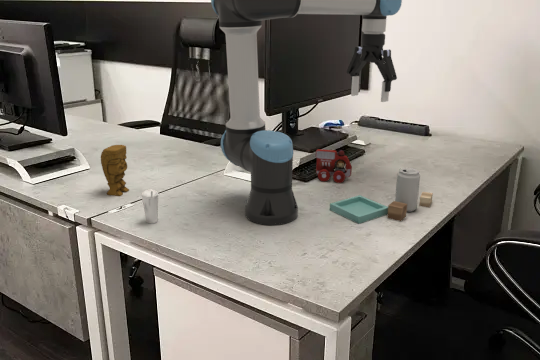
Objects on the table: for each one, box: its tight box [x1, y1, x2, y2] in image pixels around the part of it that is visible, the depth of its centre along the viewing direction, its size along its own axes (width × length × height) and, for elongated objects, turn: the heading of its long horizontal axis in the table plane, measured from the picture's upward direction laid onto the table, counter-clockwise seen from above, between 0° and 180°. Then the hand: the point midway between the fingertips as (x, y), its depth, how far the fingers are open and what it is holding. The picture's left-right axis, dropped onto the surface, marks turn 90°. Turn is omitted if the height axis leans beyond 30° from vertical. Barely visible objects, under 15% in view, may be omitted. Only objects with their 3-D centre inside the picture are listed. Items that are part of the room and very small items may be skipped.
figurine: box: [100, 144, 130, 197], centre depth 164 cm, size 7×7×15 cm
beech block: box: [418, 191, 434, 208], centre depth 157 cm, size 5×3×3 cm, turn 156°
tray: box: [329, 194, 388, 225], centre depth 152 cm, size 12×12×2 cm
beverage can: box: [394, 167, 421, 213], centre depth 152 cm, size 6×6×12 cm
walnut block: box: [386, 200, 408, 222], centre depth 148 cm, size 4×4×4 cm
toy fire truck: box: [315, 148, 353, 184], centre depth 177 cm, size 7×12×10 cm, turn 76°
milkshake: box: [141, 188, 159, 224], centre depth 143 cm, size 5×5×10 cm
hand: (369, 98), depth 175 cm, fingers open, 13 cm apart
